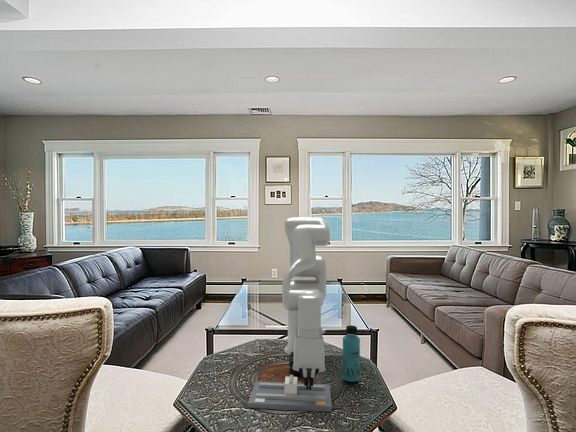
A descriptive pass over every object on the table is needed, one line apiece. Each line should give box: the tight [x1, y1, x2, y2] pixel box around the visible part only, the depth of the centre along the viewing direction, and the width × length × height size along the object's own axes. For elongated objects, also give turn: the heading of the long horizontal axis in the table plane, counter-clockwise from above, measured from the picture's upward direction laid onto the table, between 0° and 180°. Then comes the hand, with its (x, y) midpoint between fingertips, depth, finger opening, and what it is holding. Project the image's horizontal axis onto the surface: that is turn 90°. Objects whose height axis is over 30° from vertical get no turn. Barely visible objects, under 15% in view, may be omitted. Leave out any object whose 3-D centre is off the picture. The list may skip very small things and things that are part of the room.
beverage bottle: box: [341, 325, 361, 382], centre depth 125 cm, size 6×7×20 cm
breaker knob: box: [284, 375, 298, 395], centre depth 114 cm, size 5×4×5 cm
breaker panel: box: [247, 381, 333, 413], centre depth 114 cm, size 14×26×2 cm, turn 86°
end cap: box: [288, 352, 309, 378], centre depth 133 cm, size 10×7×7 cm
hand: (308, 387), depth 113 cm, fingers closed
